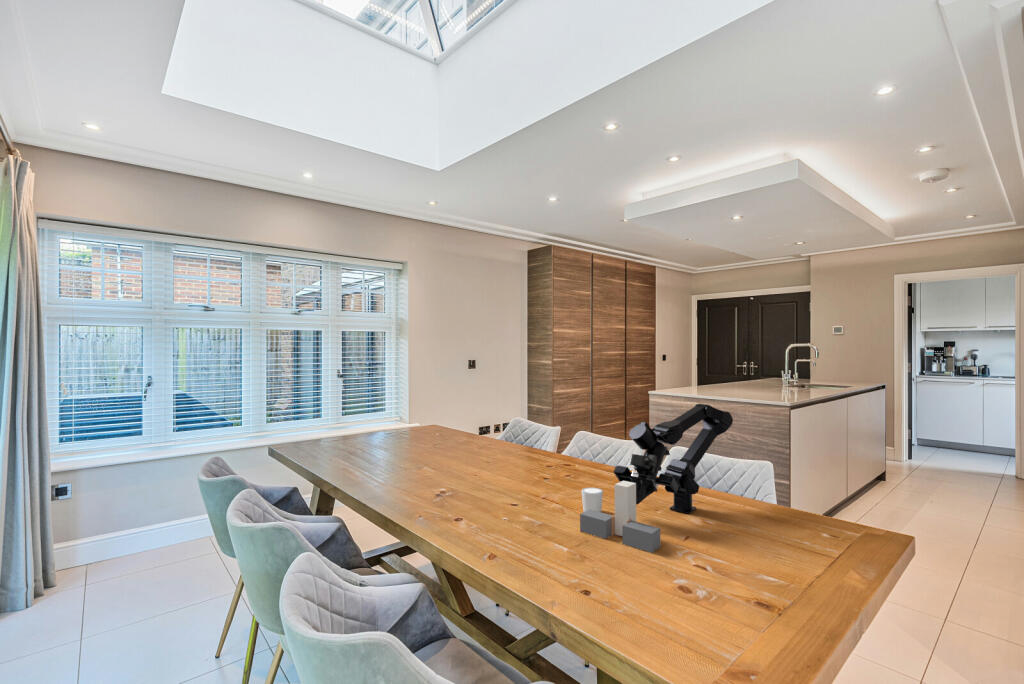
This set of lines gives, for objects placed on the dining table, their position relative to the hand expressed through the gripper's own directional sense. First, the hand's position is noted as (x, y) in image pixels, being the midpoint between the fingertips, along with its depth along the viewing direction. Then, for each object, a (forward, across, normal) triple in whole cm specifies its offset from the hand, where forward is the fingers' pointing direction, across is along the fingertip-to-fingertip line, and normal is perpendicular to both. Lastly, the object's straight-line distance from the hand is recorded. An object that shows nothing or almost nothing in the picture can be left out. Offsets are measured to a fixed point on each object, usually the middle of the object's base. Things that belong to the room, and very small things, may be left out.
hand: (635, 503), depth 140 cm
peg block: (+9, 0, +1) cm, 9 cm away
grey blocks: (+12, 0, -2) cm, 12 cm away
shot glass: (+3, -17, +8) cm, 19 cm away
